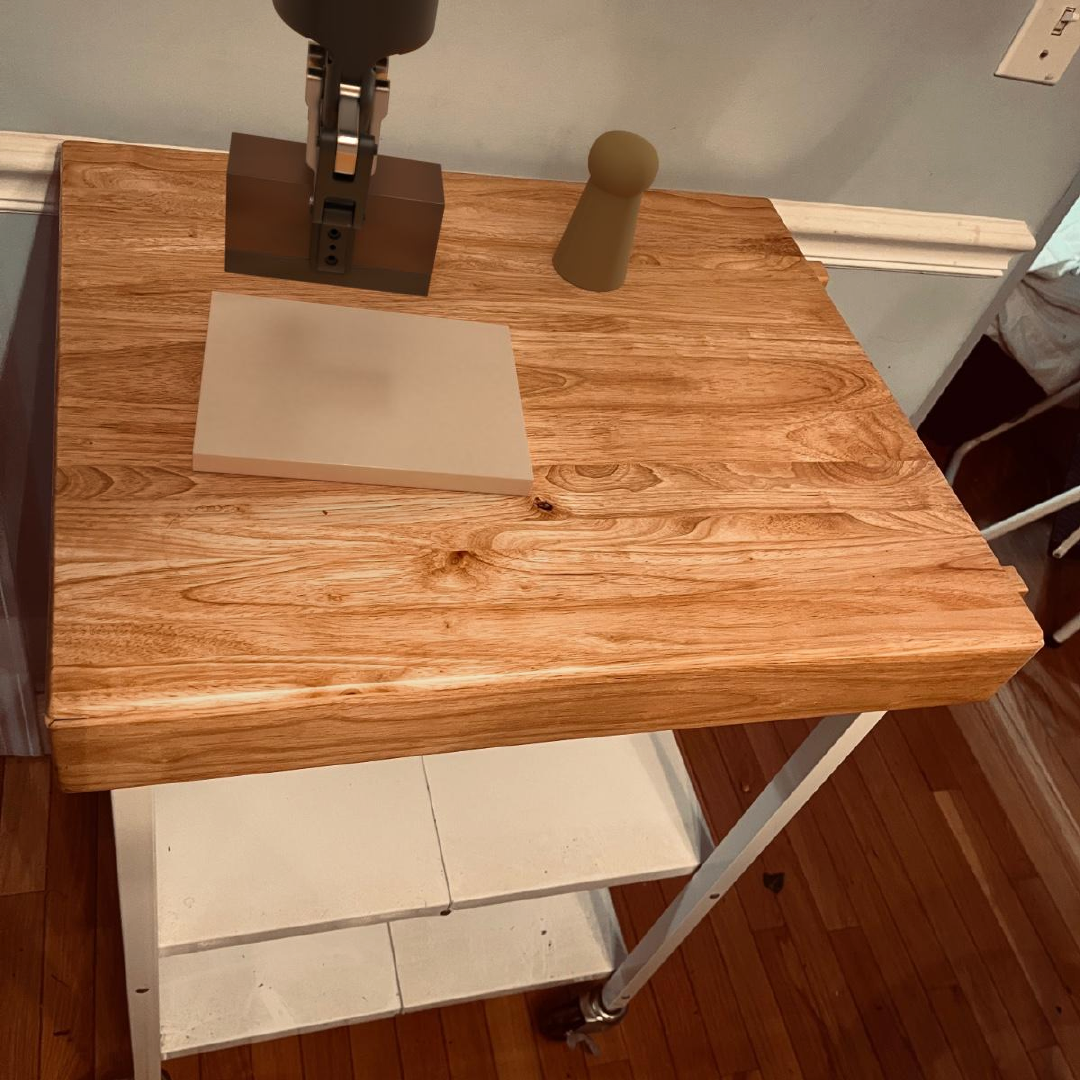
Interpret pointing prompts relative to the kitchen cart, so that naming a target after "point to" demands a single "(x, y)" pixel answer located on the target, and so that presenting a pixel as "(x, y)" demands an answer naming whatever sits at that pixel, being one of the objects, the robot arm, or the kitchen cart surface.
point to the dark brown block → (285, 224)
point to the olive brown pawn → (607, 212)
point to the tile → (359, 397)
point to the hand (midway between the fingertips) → (329, 244)
